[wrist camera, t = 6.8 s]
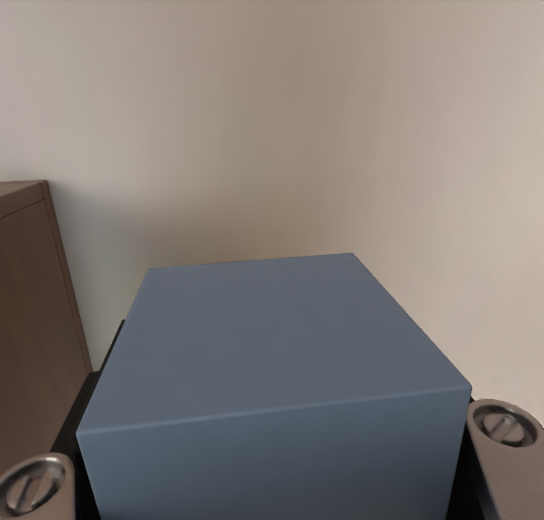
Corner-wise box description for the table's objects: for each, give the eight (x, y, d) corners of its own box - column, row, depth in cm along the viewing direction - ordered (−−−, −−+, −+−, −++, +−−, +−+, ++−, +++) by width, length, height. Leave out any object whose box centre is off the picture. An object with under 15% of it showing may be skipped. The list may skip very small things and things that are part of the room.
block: (352, 251, 10) (474, 385, 5) (345, 408, 12) (428, 610, 7) (147, 267, 10) (73, 433, 5) (174, 428, 12) (141, 662, 7)
